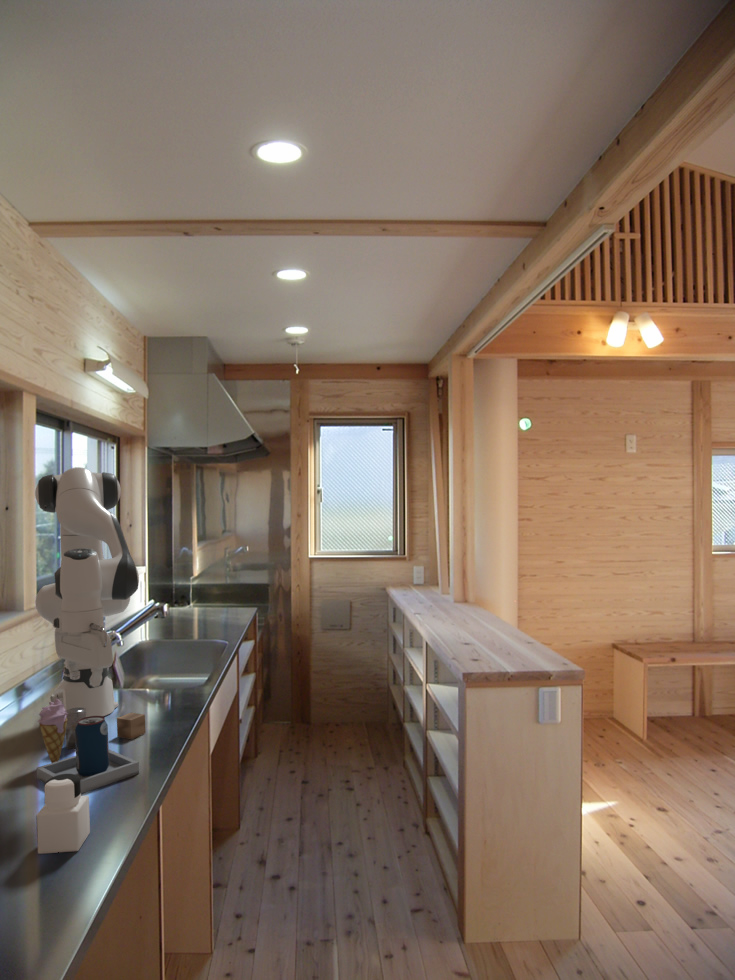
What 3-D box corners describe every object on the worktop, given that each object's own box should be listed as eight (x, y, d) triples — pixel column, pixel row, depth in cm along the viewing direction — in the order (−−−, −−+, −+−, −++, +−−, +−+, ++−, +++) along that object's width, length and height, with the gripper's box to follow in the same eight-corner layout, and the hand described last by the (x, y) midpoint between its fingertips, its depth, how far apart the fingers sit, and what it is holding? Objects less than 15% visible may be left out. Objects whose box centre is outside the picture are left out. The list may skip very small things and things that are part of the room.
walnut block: (117, 737, 189) (116, 718, 189) (131, 731, 193) (131, 712, 193) (131, 739, 186) (130, 720, 186) (145, 733, 191) (144, 714, 191)
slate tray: (36, 779, 162) (36, 767, 162) (104, 757, 173) (103, 747, 173) (70, 797, 151) (69, 785, 151) (138, 773, 163) (138, 762, 163)
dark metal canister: (62, 746, 183) (61, 711, 183) (81, 741, 186) (80, 706, 186) (71, 750, 179) (70, 714, 179) (90, 745, 183) (89, 709, 183)
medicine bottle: (51, 835, 134) (49, 771, 134) (90, 832, 134) (88, 768, 135) (37, 854, 127) (34, 786, 127) (78, 851, 127) (76, 784, 127)
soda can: (116, 768, 164) (114, 716, 164) (92, 780, 158) (90, 725, 158) (93, 765, 167) (91, 713, 167) (69, 776, 161) (67, 722, 161)
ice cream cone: (76, 760, 173) (74, 697, 173) (57, 770, 167) (55, 705, 167) (54, 757, 175) (52, 696, 175) (34, 767, 169) (32, 703, 169)
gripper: (119, 624, 157) (121, 687, 158) (75, 614, 171) (77, 672, 171) (91, 629, 153) (93, 693, 153) (48, 619, 167) (51, 678, 167)
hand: (84, 682), depth 162 cm, fingers open, 8 cm apart
